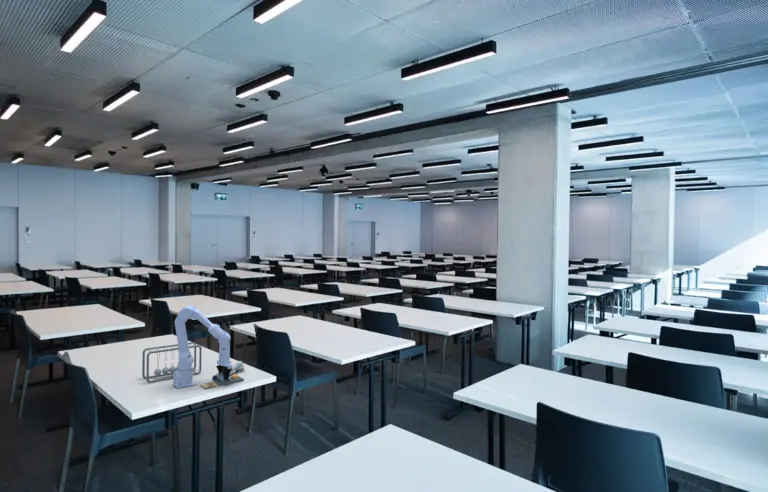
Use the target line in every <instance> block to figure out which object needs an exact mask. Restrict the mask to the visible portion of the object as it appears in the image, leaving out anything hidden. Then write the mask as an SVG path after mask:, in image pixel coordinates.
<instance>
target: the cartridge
mask: <svg viewBox="0 0 768 492" xmlns="http://www.w3.org/2000/svg"><path fill="white" fill-rule="evenodd" d="M223 382H228V380H224V377H223V371H222V372H220V383H223Z"/></svg>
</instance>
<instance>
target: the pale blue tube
mask: <svg viewBox="0 0 768 492" xmlns="http://www.w3.org/2000/svg"><path fill="white" fill-rule="evenodd" d="M244 370H245V365H244V364H243V361H241V360H238V361H236V362H235V364H233V365H232V370H231V372H230V374H231V373H233V372H234V371H235V373H241V372H244ZM218 379H220V376H219V372H217V373H216V374H214V375H212V376H211V380H212V382H214V380H218Z"/></svg>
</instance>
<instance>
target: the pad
mask: <svg viewBox="0 0 768 492" xmlns="http://www.w3.org/2000/svg"><path fill="white" fill-rule="evenodd" d="M217 386H218V387H219V385H218V384H216V383H214V381H210V382H206V383H201V384H200V387H201V388H202V389H204V390H210V389H214V388H218V387H217ZM213 387H214V388H213ZM209 388H210V389H209Z"/></svg>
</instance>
